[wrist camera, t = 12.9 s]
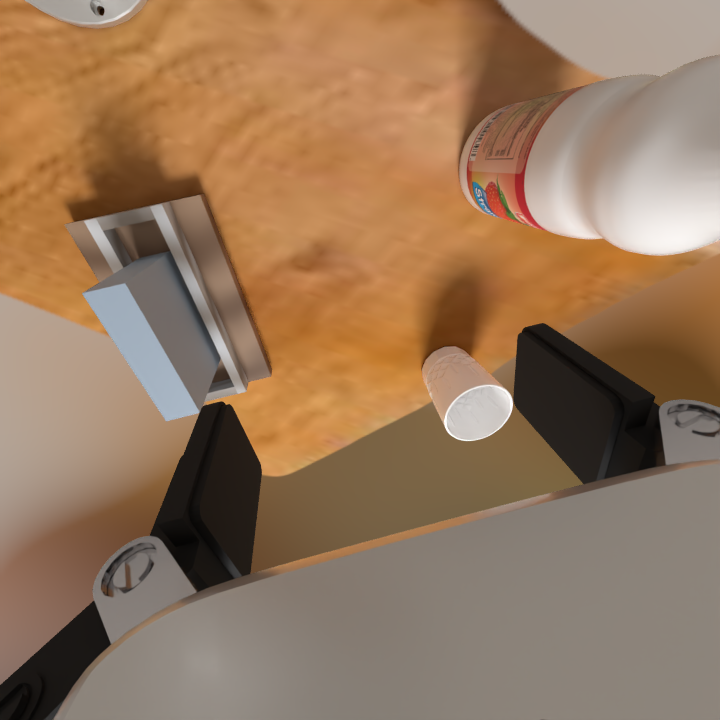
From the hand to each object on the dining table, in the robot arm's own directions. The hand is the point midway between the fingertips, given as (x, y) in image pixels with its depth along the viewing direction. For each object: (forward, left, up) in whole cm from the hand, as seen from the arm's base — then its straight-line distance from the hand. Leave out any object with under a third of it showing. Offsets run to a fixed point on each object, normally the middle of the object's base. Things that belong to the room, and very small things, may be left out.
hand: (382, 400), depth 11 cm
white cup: (+20, +12, -28) cm, 37 cm away
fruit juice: (-3, +19, -28) cm, 34 cm away
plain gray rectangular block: (+4, -16, -27) cm, 31 cm away
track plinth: (+4, -16, -28) cm, 33 cm away
